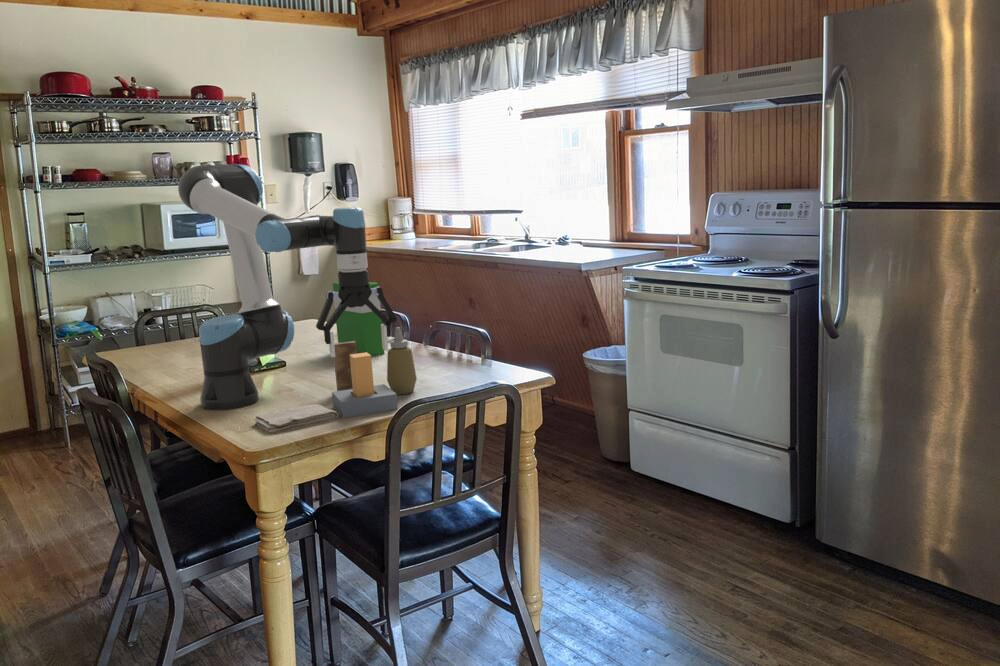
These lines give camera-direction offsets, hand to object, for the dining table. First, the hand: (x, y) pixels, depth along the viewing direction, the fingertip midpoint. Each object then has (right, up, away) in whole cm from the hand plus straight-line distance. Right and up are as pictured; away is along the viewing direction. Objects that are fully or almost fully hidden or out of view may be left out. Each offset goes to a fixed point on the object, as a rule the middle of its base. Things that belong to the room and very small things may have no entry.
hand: (359, 353), depth 214 cm
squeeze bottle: (+9, -11, +16) cm, 22 cm away
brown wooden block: (-6, -11, +20) cm, 24 cm away
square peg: (+1, -14, +2) cm, 15 cm away
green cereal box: (-12, -2, +73) cm, 74 cm away
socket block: (+1, -14, +2) cm, 14 cm away
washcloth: (-15, -17, -6) cm, 24 cm away
